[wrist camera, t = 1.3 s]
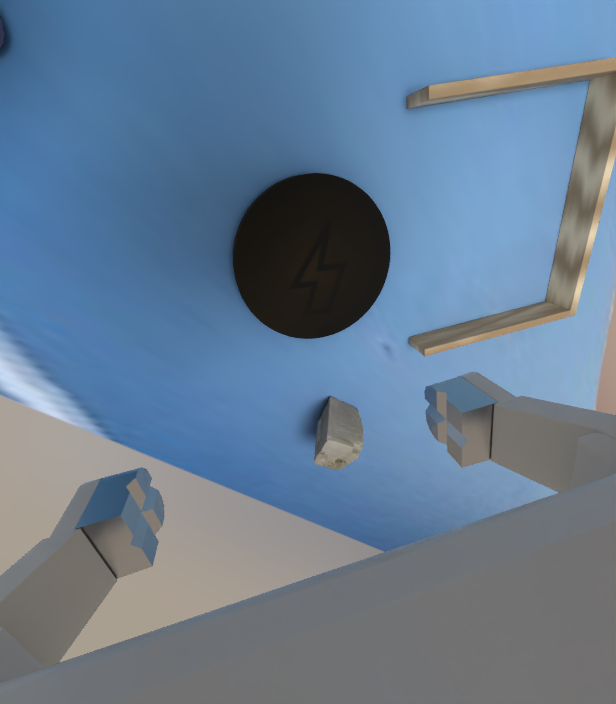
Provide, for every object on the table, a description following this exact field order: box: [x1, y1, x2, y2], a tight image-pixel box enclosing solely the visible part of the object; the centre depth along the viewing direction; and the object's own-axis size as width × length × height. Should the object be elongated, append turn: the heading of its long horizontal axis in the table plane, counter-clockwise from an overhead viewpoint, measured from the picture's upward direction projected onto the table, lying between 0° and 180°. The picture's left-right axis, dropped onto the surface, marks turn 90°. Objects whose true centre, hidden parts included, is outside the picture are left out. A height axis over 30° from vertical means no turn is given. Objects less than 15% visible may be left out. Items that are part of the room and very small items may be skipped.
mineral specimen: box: [314, 397, 364, 470], centre depth 45 cm, size 7×9×8 cm
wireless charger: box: [233, 173, 390, 339], centre depth 37 cm, size 18×18×2 cm
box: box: [407, 58, 616, 356], centre depth 39 cm, size 28×23×4 cm
